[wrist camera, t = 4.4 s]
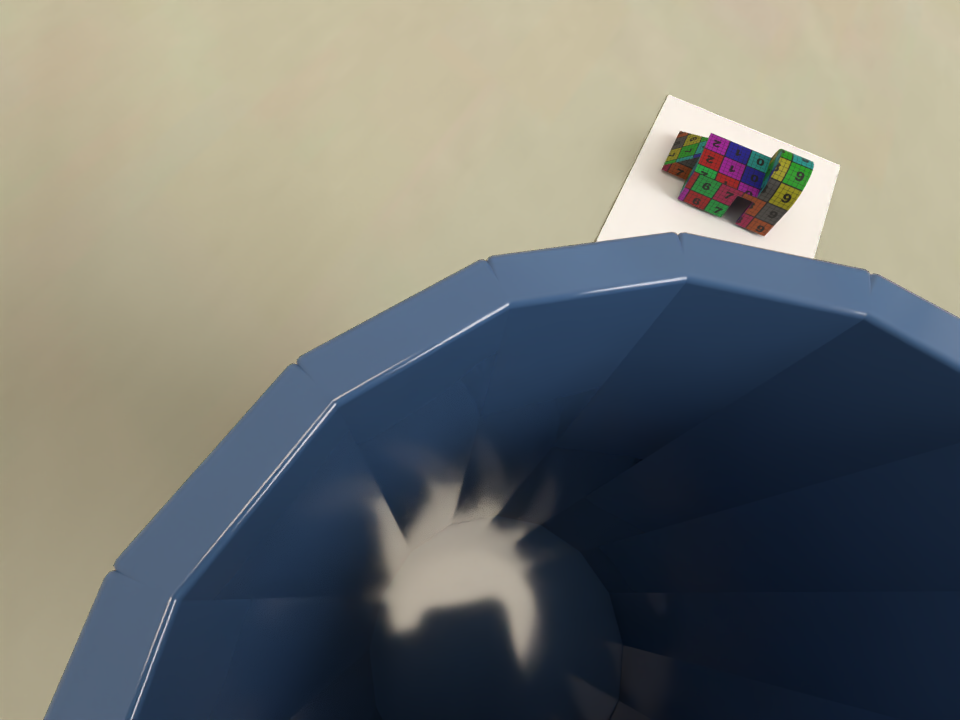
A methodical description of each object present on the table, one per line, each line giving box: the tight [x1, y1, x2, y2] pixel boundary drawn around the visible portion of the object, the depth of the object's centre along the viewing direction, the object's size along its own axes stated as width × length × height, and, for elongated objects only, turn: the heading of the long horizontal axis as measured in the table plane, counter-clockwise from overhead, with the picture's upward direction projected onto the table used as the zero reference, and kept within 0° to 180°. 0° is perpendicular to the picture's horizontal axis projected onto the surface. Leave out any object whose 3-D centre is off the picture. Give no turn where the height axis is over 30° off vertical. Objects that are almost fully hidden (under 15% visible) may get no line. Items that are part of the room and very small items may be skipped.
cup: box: [43, 232, 960, 720], centre depth 8 cm, size 7×7×12 cm
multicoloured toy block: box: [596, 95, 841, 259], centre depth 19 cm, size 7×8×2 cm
